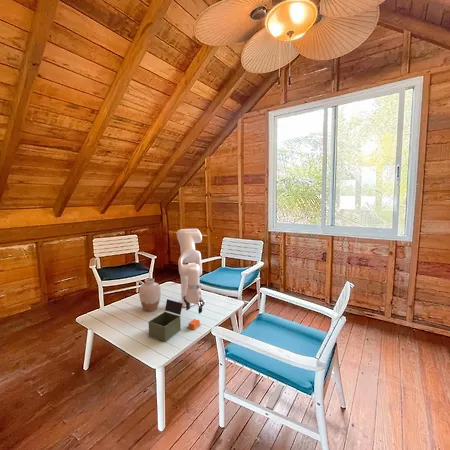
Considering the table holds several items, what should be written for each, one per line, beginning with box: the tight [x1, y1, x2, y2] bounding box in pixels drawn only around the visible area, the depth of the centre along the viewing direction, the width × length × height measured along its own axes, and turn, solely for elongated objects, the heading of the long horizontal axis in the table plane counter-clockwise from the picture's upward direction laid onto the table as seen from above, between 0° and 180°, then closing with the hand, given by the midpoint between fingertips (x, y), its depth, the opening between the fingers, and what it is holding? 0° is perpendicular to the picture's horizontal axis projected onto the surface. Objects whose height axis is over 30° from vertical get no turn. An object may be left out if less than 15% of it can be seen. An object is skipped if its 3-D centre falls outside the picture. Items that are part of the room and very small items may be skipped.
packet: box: [188, 318, 201, 330], centre depth 167 cm, size 6×4×3 cm
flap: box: [164, 299, 183, 316], centre depth 165 cm, size 7×13×1 cm
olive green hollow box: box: [148, 311, 182, 343], centre depth 159 cm, size 15×13×10 cm
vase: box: [138, 277, 162, 312], centre depth 190 cm, size 16×16×23 cm
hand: (194, 311), depth 165 cm, fingers open, 9 cm apart
